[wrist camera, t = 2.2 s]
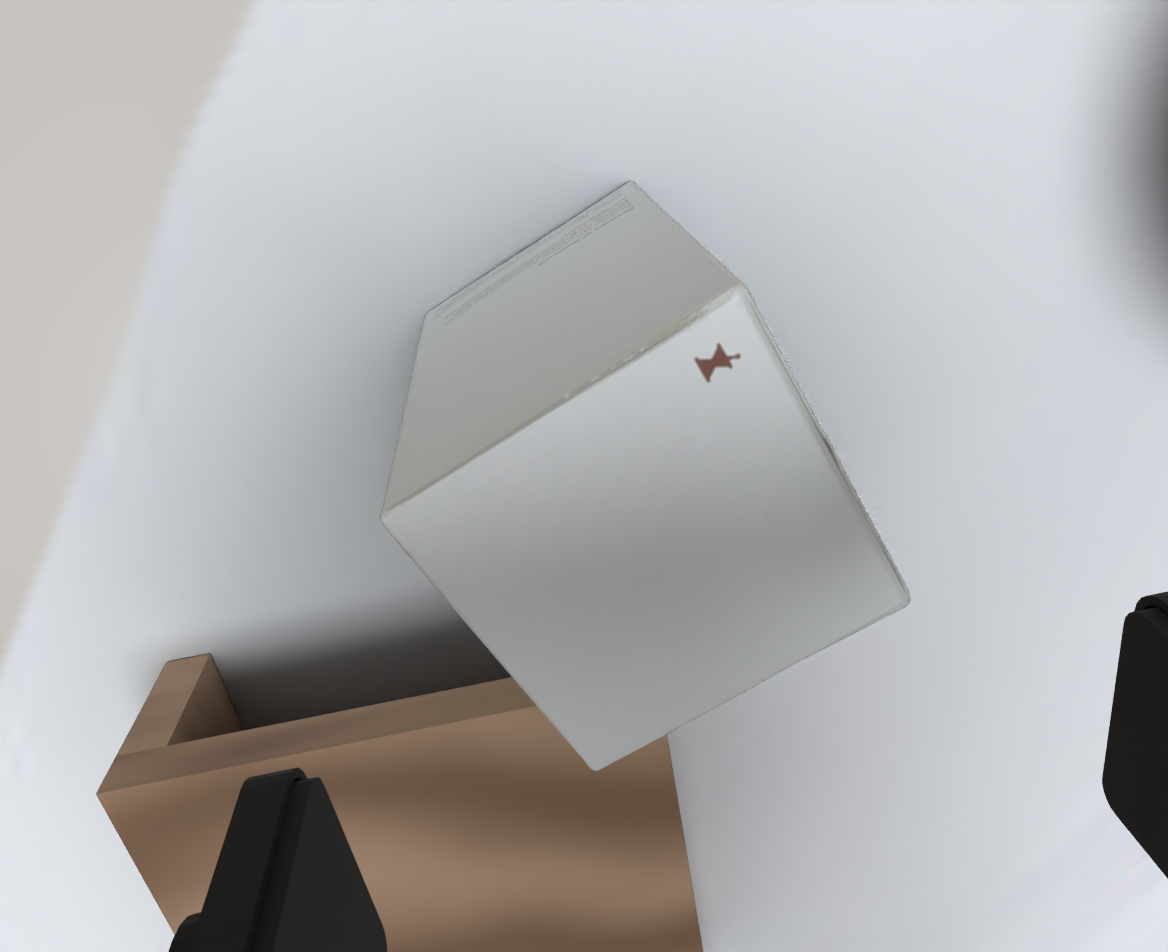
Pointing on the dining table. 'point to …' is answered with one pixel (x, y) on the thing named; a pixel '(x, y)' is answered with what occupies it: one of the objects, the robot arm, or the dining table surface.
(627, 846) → the walnut shelf
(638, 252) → the supplement box
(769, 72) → the dining table surface
